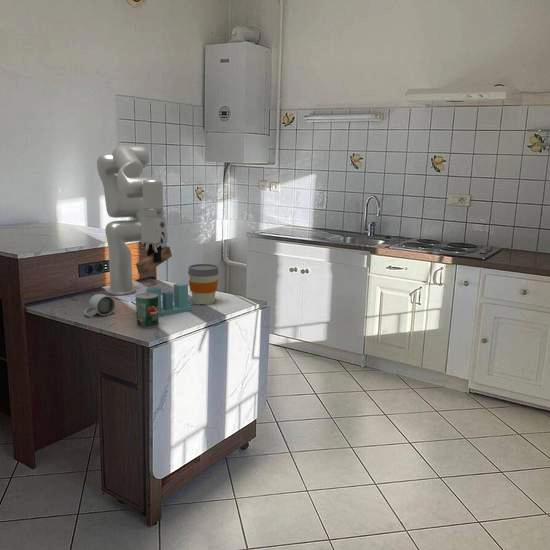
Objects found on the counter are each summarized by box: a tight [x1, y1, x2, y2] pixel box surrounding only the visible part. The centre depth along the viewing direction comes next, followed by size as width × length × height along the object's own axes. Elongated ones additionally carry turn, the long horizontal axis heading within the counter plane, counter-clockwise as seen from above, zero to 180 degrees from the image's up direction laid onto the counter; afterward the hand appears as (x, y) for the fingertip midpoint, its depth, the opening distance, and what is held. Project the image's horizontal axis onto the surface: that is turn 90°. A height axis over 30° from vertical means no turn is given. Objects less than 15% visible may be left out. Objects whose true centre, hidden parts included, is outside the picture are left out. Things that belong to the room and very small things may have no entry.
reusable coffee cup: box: [187, 263, 219, 306], centre depth 234 cm, size 12×13×15 cm
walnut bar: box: [135, 245, 173, 275], centre depth 211 cm, size 15×3×4 cm, turn 143°
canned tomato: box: [135, 292, 160, 328], centre depth 203 cm, size 8×8×11 cm
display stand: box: [145, 282, 193, 317], centre depth 218 cm, size 6×18×10 cm, turn 131°
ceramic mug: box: [83, 293, 116, 318], centre depth 214 cm, size 11×8×8 cm
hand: (154, 261), depth 211 cm, fingers closed on walnut bar, 3 cm apart
